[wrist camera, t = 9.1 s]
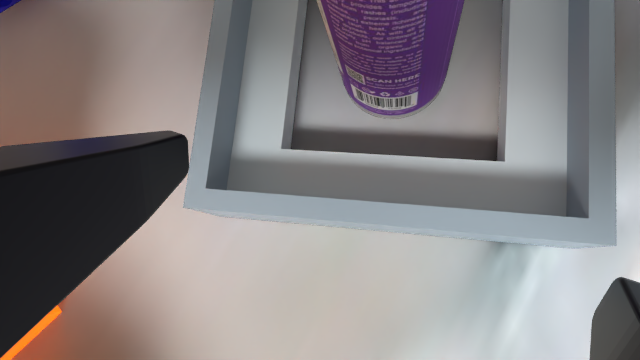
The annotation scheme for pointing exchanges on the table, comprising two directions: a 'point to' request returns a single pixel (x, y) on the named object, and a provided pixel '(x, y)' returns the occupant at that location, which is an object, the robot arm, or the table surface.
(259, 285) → the table surface
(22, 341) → the orange juice
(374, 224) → the walled box
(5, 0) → the cable clip
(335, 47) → the container
